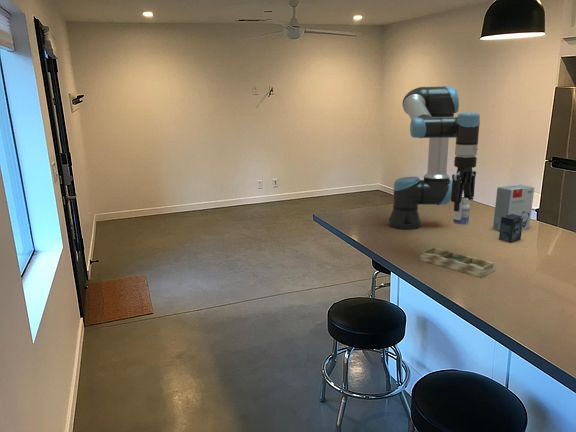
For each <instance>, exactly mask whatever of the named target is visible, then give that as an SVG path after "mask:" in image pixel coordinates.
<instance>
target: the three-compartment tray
mask: <svg viewBox="0 0 576 432" xmlns="http://www.w3.org/2000/svg"><path fill="white" fill-rule="evenodd" d="M418 260H419V261H421V262H425V263H428V264H431V265H435V266H439V267H442V268H446V269H449V270H453V271H457V272H461V273H464V274H468V275H471V276H475V277H479V278H483V277H486V276H487V275H489V274H491V273H493V272H495V271H496V267H495V262H492V261H488V260H484V259H481V258H478V257H473V256H469V255H465V254H461V253H459V252H453V251H449V250H445V249H442V248H438V247H433V246H432V247H430V248H428V249H426V250H423V251H421V252H420V256H419V257H418Z"/></svg>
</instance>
